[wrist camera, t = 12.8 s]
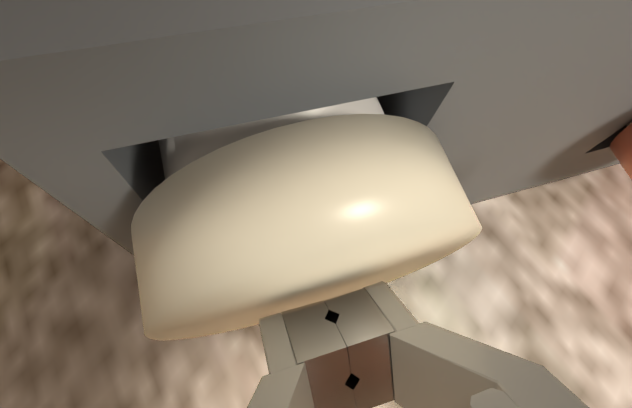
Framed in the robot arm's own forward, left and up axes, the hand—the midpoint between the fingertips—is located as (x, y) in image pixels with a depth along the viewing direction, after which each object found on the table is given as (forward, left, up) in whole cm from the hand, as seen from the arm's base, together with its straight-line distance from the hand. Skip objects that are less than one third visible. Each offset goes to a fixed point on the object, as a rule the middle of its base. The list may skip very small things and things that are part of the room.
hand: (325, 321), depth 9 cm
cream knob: (0, +5, -3) cm, 5 cm away
